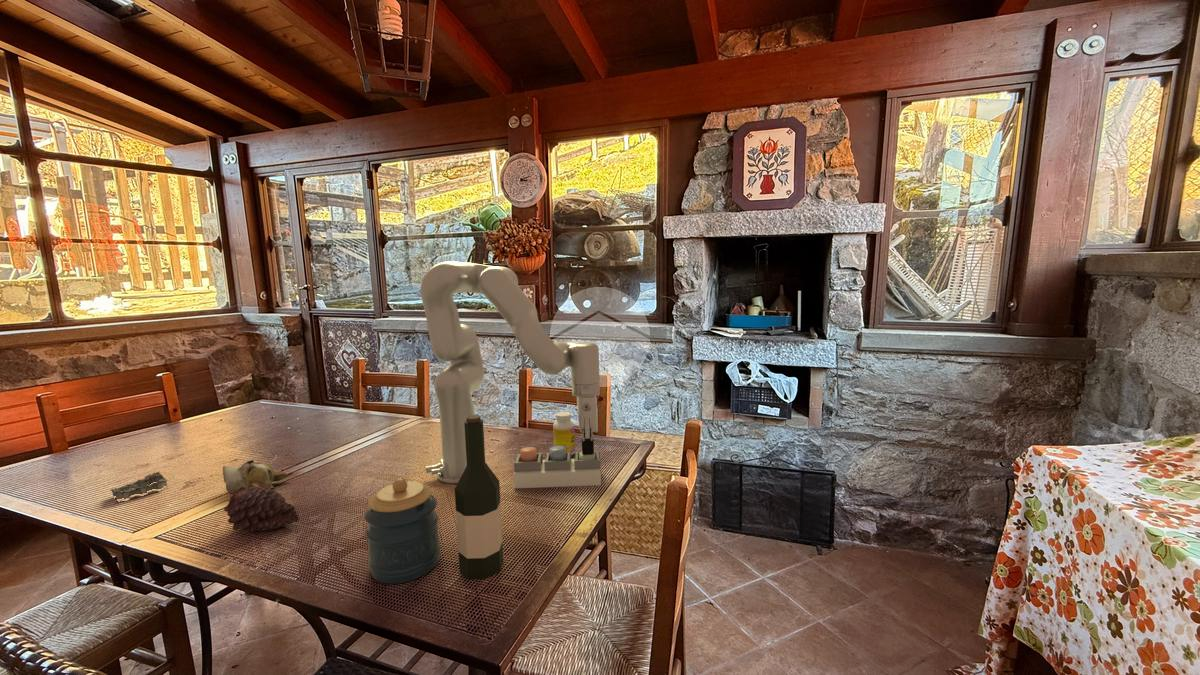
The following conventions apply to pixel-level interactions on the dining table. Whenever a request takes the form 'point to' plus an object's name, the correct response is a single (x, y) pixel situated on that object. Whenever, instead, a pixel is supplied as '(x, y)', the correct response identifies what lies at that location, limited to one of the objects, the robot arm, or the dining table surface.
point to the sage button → (586, 456)
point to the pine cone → (259, 509)
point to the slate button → (557, 453)
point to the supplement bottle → (564, 432)
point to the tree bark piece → (140, 486)
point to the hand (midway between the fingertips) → (588, 453)
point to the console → (557, 472)
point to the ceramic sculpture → (251, 476)
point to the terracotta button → (528, 454)
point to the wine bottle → (478, 509)
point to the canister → (402, 532)
